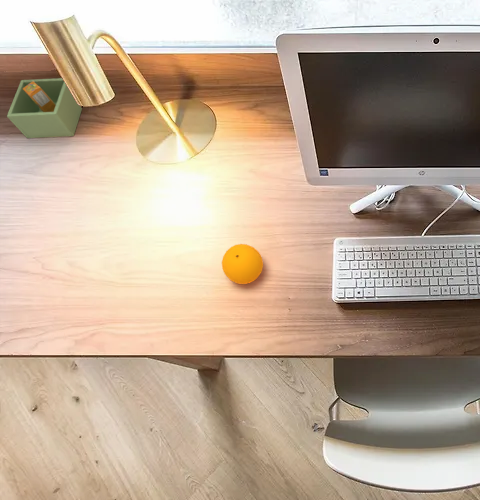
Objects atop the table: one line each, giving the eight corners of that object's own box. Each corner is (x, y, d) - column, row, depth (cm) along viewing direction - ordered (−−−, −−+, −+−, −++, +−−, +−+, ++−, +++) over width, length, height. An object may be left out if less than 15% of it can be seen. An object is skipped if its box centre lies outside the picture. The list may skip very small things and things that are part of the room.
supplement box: (46, 118, 122) (21, 87, 113) (58, 110, 123) (34, 79, 114) (53, 124, 121) (28, 94, 112) (65, 116, 122) (41, 85, 113)
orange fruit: (273, 265, 101) (266, 248, 94) (249, 296, 98) (240, 280, 91) (243, 247, 103) (234, 229, 97) (219, 276, 100) (208, 260, 94)
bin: (27, 138, 120) (6, 116, 113) (39, 102, 125) (21, 79, 119) (73, 136, 120) (56, 114, 113) (84, 100, 125) (68, 77, 118)
